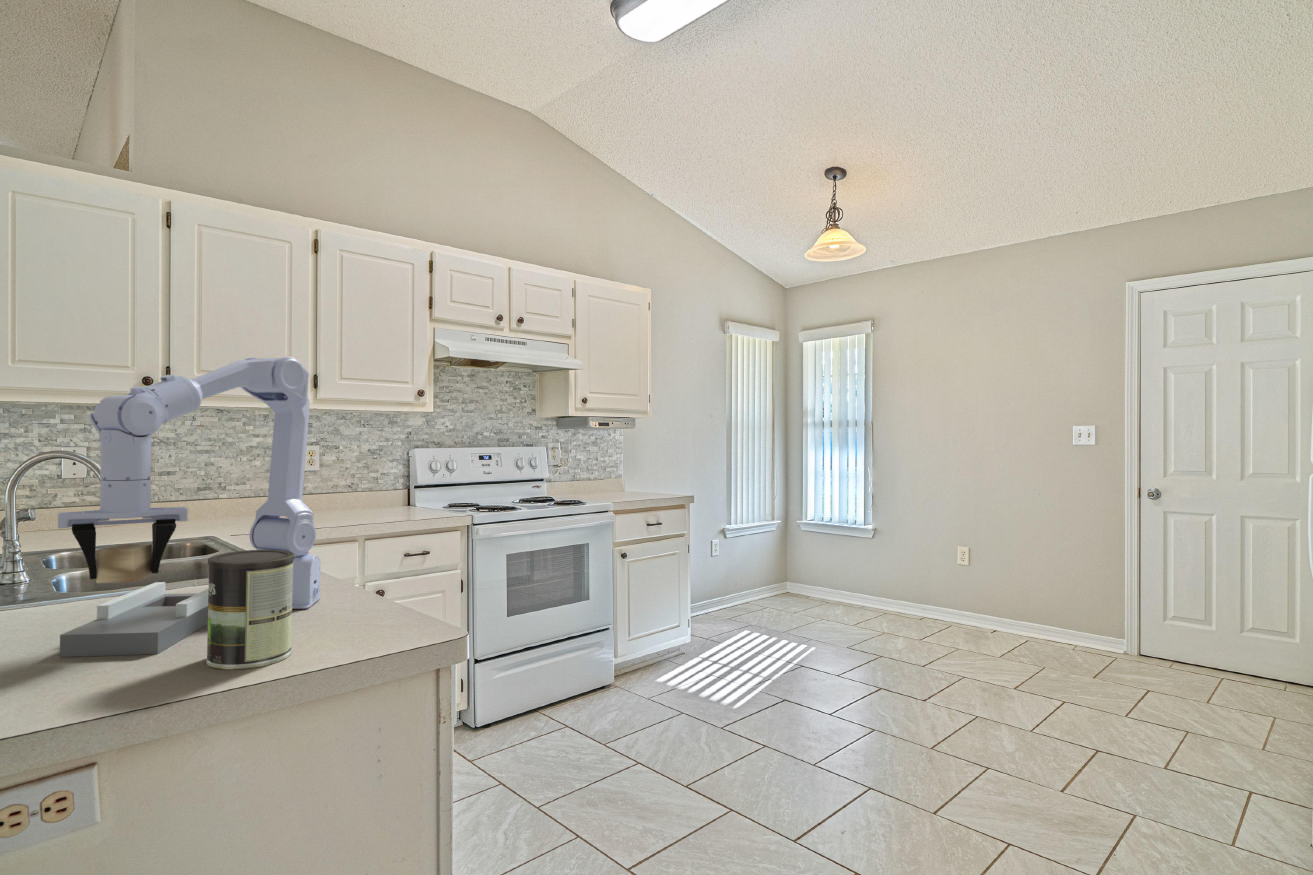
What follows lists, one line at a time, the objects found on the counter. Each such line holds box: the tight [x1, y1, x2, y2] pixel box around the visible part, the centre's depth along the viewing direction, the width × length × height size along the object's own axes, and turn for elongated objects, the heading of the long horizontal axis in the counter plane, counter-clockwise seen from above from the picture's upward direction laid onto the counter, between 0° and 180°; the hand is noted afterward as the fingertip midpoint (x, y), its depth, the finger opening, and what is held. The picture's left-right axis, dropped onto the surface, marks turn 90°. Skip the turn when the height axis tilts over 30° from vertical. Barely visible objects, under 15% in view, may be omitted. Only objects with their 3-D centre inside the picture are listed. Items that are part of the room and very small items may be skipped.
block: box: [95, 543, 153, 584], centre depth 98 cm, size 5×5×5 cm
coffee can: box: [205, 549, 294, 671], centre depth 95 cm, size 10×10×14 cm
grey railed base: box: [59, 581, 209, 658], centre depth 107 cm, size 12×24×5 cm, turn 10°
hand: (124, 575), depth 98 cm, fingers closed on block, 6 cm apart
